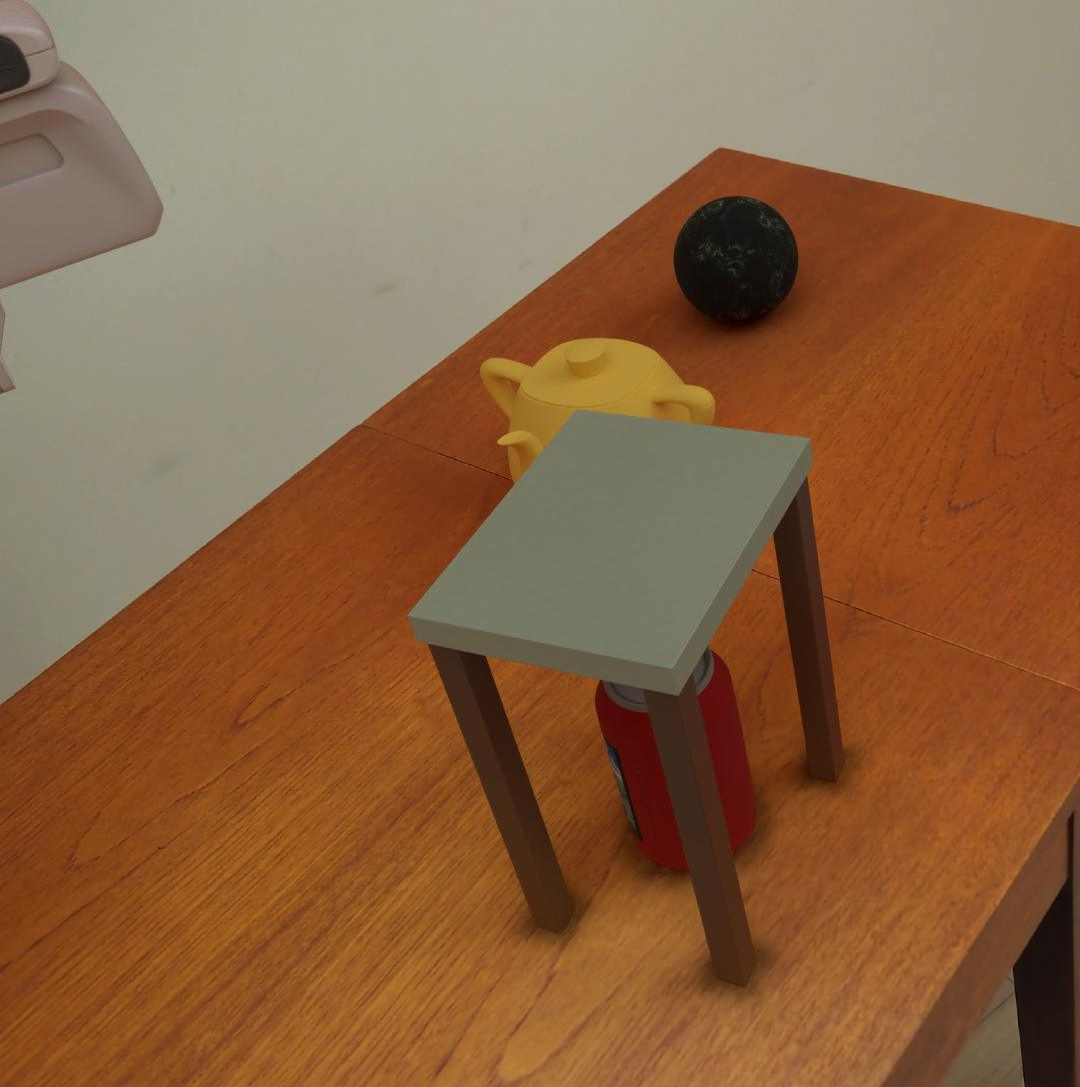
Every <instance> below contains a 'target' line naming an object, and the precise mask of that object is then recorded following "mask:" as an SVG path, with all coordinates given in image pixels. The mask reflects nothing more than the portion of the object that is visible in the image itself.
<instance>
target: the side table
mask: <svg viewBox="0 0 1080 1087" xmlns="http://www.w3.org/2000/svg"><path fill="white" fill-rule="evenodd" d="M813 466H814V459H813V449H812V442H811V438H810V437H806V436H798V435H789V434H781V433H773V432H766V431H765V432H764V431H757V430H751V429H750V430H749V429H740V428H733V427H725V426H717V425H711V426H709V425H701V424H693V423H685V422H677V421H669V420H661V419H653V418H644V417H636V416H628V415H620V414H612V413H604V412H596V411H588V410H580V409H576V410H575V412H574V413H573V414H572V415H571V416H570V418H569V419H568V420H567V421H566V422H565V424H564V425H563V426H562V427H561V429H560V430H559V431H558V432H557V433H556V435H555V436H554V437H553V438H552V440H551V441H550V442H549V443H548V444H547V446H546V447H545V448H544V449H543V450H542V452H541V453H540V454H539V455H538V457H537V458H536V459H535V460H534V461H533V463H532V464H531V465H530V466H529V468H528V469H527V470H526V471H525V472H524V474H523V475H522V476H521V477H520V479H519V480H518V481H517V482H516V483H515V485H514V484H513V486H512V487H511V488H510V490H509V491H508V492H506V494H505V495H504V496H503V498H502V499H501V500H500V501H499V503H498V504H497V505H496V506H495V508H494V509H493V510H492V511H491V513H490V514H489V515H488V516H487V517H486V518H485V520H484V521H483V522H482V524H481V525H480V526H479V527H478V528H477V530H476V531H475V532H474V533H473V534H472V536H470V538H469V539H468V541H467V542H466V543H464V545H463V546H462V548H461V549H460V550H459V551H458V553H457V554H456V555H455V556H454V557H453V559H451V561H450V562H449V564H448V565H447V566H446V567H445V568H444V569H443V571H442V572H441V573H440V575H438V577H437V578H436V580H435V581H434V582H433V583H432V584H431V585H430V587H429V588H428V590H426V592H425V593H424V594H423V595H422V597H421V598H420V599H419V600H418V601H417V603H416V604H415V605H414V606H413V608H411V610H410V611H409V612H408V614H407V619H408V622H409V624H410V626H411V629H412V631H413V634H414V637H415V640H416V642H418V643H422V644H426V645H427V646H428V649H429V651H430V654H431V657H432V659H433V662H434V664H435V667H436V670H437V672H438V675H439V677H440V680H441V683H442V685H443V688H444V690H445V693H446V695H447V698H448V700H449V703H450V706H451V708H452V711H453V714H454V717H455V719H456V721H457V725H458V727H459V729H460V732H461V734H462V737H463V740H464V743H465V745H466V748H467V750H468V752H469V755H470V759H471V760H472V763H473V765H474V768H475V771H476V774H477V776H478V779H479V781H480V785H481V786H482V789H483V791H484V795H485V797H486V800H487V802H488V805H489V807H490V810H491V813H492V815H493V818H494V821H495V823H496V826H497V828H498V831H499V833H500V835H501V838H502V841H503V844H504V846H505V849H506V852H507V855H508V856H509V859H510V862H511V864H512V868H513V869H514V870H513V871H514V872H515V875H516V877H517V880H518V882H519V886H520V888H521V890H522V893H523V895H524V898H525V900H526V903H527V906H528V909H529V912H530V914H531V917H532V919H533V922H534V924H535V926H536V927H538V928H542V929H545V930H549V931H552V932H556V933H559V934H562V933H563V931H564V929H565V928H566V926H567V924H568V922H569V920H570V918H571V917H572V915H573V913H574V912H575V906H574V903H573V901H572V900H573V899H572V898H571V894H570V892H569V889H568V886H567V883H566V880H565V877H564V875H563V872H562V869H561V866H560V863H559V860H558V858H557V856H556V851H555V849H554V846H553V843H552V841H551V837H550V835H549V833H548V832H549V831H548V829H547V827H546V824H545V821H544V817H543V815H542V812H541V810H540V807H539V804H538V801H537V798H536V795H535V793H534V790H533V786H532V784H531V781H530V778H529V774H528V772H527V769H526V766H525V763H524V761H523V757H522V755H521V752H520V749H519V747H518V743H517V740H516V737H515V735H514V732H513V729H512V726H511V724H510V721H509V719H508V715H507V712H506V709H505V706H504V703H503V701H502V698H501V695H500V693H499V690H498V686H497V683H496V681H495V678H494V675H493V672H492V669H491V667H490V664H489V660H488V658H487V657H490V658H494V659H499V660H504V661H508V662H514V663H518V664H522V665H528V666H531V667H532V666H533V667H536V668H537V667H538V668H542V669H545V670H546V669H547V670H552V671H556V672H557V671H558V672H561V673H566V674H571V675H576V676H581V677H585V678H590V679H595V680H599V681H600V680H604V681H609V682H613V683H618V684H623V685H628V686H633V687H637V688H642V689H643V693H644V697H645V701H646V705H647V709H648V713H649V716H650V720H651V724H652V728H653V732H654V736H655V740H656V744H657V748H658V752H659V755H660V759H661V763H662V767H663V771H664V775H665V779H666V783H667V787H668V791H669V795H670V798H671V802H672V806H673V810H674V814H675V818H676V822H677V826H678V830H679V834H680V837H681V841H682V845H683V849H684V853H685V857H686V861H687V865H688V869H687V870H688V873H689V877H690V880H691V884H692V888H693V891H694V895H695V899H696V903H697V908H698V911H699V915H700V919H701V923H702V926H703V930H704V935H705V939H706V944H707V947H708V951H709V955H710V957H711V963H712V966H713V970H714V974H715V978H716V979H717V980H719V981H723V982H727V983H730V984H734V985H736V986H740V987H743V988H745V987H746V985H747V983H748V981H749V979H750V976H751V974H752V972H753V970H754V967H755V966H756V964H757V957H756V953H755V950H754V944H753V940H752V936H751V931H750V926H749V922H748V918H747V913H746V907H745V904H744V899H743V895H742V890H741V885H740V881H739V876H738V873H737V868H736V864H735V859H734V853H733V854H732V849H731V845H730V840H729V836H728V831H727V826H726V822H725V817H724V813H723V808H722V804H721V799H720V795H719V790H718V786H717V781H716V777H715V772H714V768H713V763H712V759H711V754H710V750H709V745H708V741H707V736H706V732H705V727H704V722H703V718H702V713H701V709H700V704H699V700H698V695H697V691H696V686H695V682H694V677H693V673H692V672H693V670H694V668H695V667H696V665H697V663H698V661H699V660H700V658H701V656H702V655H703V653H704V651H705V649H706V648H707V646H709V644H710V643H711V641H712V640H713V637H714V635H716V632H717V631H718V629H719V627H720V626H721V624H722V622H723V621H724V619H725V617H726V615H727V614H728V612H729V610H730V608H731V606H732V605H733V603H734V602H735V600H736V598H737V596H738V595H739V593H740V591H741V589H742V587H743V586H744V584H745V583H746V581H747V579H748V578H749V576H750V574H751V572H752V570H753V569H754V567H755V566H756V564H757V562H758V560H759V558H760V557H761V555H762V553H763V552H764V550H765V548H766V546H767V545H768V543H769V541H770V540H771V538H773V545H774V550H775V556H776V557H775V558H776V563H777V570H778V576H779V583H780V589H781V596H782V602H783V609H784V616H785V621H786V628H787V634H788V635H787V636H788V641H789V648H790V653H791V660H792V666H793V672H794V679H795V686H796V693H797V698H798V705H799V711H800V717H801V726H802V731H803V738H804V745H805V750H806V751H805V752H806V756H807V763H808V769H809V776H810V777H811V778H816V779H821V780H824V781H829V782H833V783H834V782H835V783H836V782H837V781H838V779H839V776H840V775H841V772H842V770H843V768H844V764H845V762H846V761H845V754H844V746H843V738H842V730H841V723H840V716H839V709H838V708H839V707H838V700H837V692H836V684H835V676H834V669H833V662H832V654H831V647H830V646H831V645H830V639H829V631H828V623H827V614H826V609H825V600H824V593H823V585H822V577H821V569H820V563H819V554H818V548H817V538H816V533H815V524H814V523H815V522H814V516H813V509H812V501H811V494H810V485H809V478H808V474H809V473H810V471H811V470H812V468H813Z"/></svg>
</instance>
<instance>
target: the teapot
mask: <svg viewBox="0 0 1080 1087" xmlns="http://www.w3.org/2000/svg"><path fill="white" fill-rule="evenodd" d="M479 375H480V376H479V377H480V378H481V381H482V383H483V386H484V387H485V389H486V391H487V393H488V394H489V396H490V397H491V398H492V400H493V401H494V403H495V404H496V405H497V406H498V408H499V409H500V411H501V412H503V413H504V415H505V416H506V417H507V419H509V424H508V430H507V433H506V434H505V435H503V436H501V437H500V438H499V439H498V440H497V442H496V443H497V445H499V446H505V447H507V459H508V461H507V462H508V468H509V472H510V476H511V480H512V482H513V486H514V485H515V483H516V482H517V481H518V480H519V479H520V477H521V476H522V475H523V474H524V472H525V471H526V470H527V469H528V468H529V466H530V465H531V464H532V463H533V461H534V460H535V459H536V458H537V457H538V455H539V454H540V453H541V452H542V450H543V449H544V448H545V447H546V446H547V444H548V443H549V442H550V441H551V440H552V438H553V437H554V436H555V435H556V433H557V432H558V431H559V430H560V429H561V427H562V426H563V425H564V424H565V422H566V421H567V420H568V419H569V418H570V416H571V415H572V414H573V413H574V412H575V410H576V409H580V410H588V411H596V412H604V413H612V414H620V415H628V416H636V417H644V418H653V419H661V420H669V421H677V422H685V423H693V424H701V425H709V426H713V422H714V419H715V414H716V400H715V398H714V396H713V394H712V393H711V392H710V391H709V390H708V389H706V388H704V387H701V386H698V385H693V384H685V383H684V382H683V380H682V379H681V377H680V376H679V375H678V374H677V372H675V370H674V369H673V368H672V367H671V366H670V364H669V363H668V362H667V361H666V360H665V359H664V358H663V357H662V356H661V355H660V354H659V353H658V352H656V350H654V349H653V348H651V347H648V346H646V345H644V344H641V343H638V342H634V341H630V340H625V339H619V338H611V337H610V338H609V337H607V338H605V337H592V338H591V337H590V338H589V337H588V338H579V339H573V340H570V341H569V340H568V341H566V342H563V343H560V344H558V345H556V346H554V347H553V348H552V349H550V350H549V351H547V352H546V354H545V355H543V356H542V357H541V358H539V360H538V361H536V363H535V364H534V365H533V366H530V365H528V364H525V363H522V362H519V361H515V360H512V359H508V358H503V357H491V358H488V359H486V360H484V361H483V362H482V364H481V365H480V368H479ZM510 381H512V382H514V383H516V384H519V386H518V390H517V392H516V391H515V389H514V387H513V386H512V384H511V382H510Z"/></svg>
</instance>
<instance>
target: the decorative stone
mask: <svg viewBox="0 0 1080 1087" xmlns="http://www.w3.org/2000/svg"><path fill="white" fill-rule="evenodd" d="M673 249H674V250H673V256H672V258H673V259H672V261H673V270H674V274H675V278H676V281H677V284H678V287H679V289H680V291H681V292H682V294H683V296H684V297H685V299H686V300H687V301H688V302H689V303H690V304H691V305H692V307H694V308H695V309H696V310H697V311H698V312H700V313H701V314H703V315H704V316H706V317H708V318H710V319H713V320H716V321H719V322H723V323H728V324H732V325H738V324H739V325H740V324H741V325H742V324H748V323H751V322H755V321H756V320H759V319H762V318H764V317H766V316H767V315H769V314H771V313H772V312H774V310H776V309H777V308H778V307H779V306H780V305H782V303H783V302H784V301H785V300H786V299H787V297H788V296H789V294H790V292H791V291H792V289H793V286H794V284H795V281H796V279H797V275H798V269H799V249H798V245H797V241H796V237H795V235H794V232H793V230H792V228H791V227H790V225H789V223H788V221H786V219H785V218H784V217H783V216H782V215H781V213H780V212H778V211H777V210H776V209H775V208H774V207H772V206H771V205H769V204H768V203H766V202H764V201H762V200H759V199H757V198H753V197H749V196H743V195H730V196H722V197H719V198H715V199H713V200H711V201H709V202H707V203H705V204H704V205H702V206H700V207H698V209H696V210H695V211H694V212H693V213H692V214H691V215H690V216H689V217H688V218H687V220H686V221H685V223H684V224H683V226H682V228H681V229H680V231H679V233H678V235H677V237H676V240H675V244H674V248H673Z"/></svg>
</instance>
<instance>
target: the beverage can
mask: <svg viewBox="0 0 1080 1087" xmlns="http://www.w3.org/2000/svg"><path fill="white" fill-rule="evenodd" d="M692 673H693V677H694V682H695V686H696V691H697V695H698V700H699V704H700V709H701V713H702V718H703V722H704V727H705V732H706V736H707V741H708V745H709V750H710V754H711V759H712V763H713V768H714V772H715V777H716V781H717V786H718V790H719V795H720V799H721V804H722V808H723V813H724V817H725V822H726V826H727V831H728V836H729V840H730V845H731V849H732V854H733V855H734V854H735V853H736V852H737V851H738V850H739V849H741V847H742V846H744V844H745V843H746V842H747V840H748V839H749V837H750V836H751V834H752V832H753V830H754V827H755V825H756V820H757V811H758V810H757V803H756V797H755V791H754V784H753V780H752V775H751V774H752V773H751V768H750V764H749V758H748V753H747V748H746V743H745V737H744V732H743V728H742V722H741V717H740V712H739V707H738V703H737V698H736V693H735V688H734V682H733V679H732V674H731V671H730V668H729V667H728V665H727V664H726V662H725V661H724V660H723V659H722V657H721V656H720V655H718V653H716V652H715V651H714V650H713V649H711V647H710V646H709V645H708V646H707V648H706V649H705V651H704V653H703V655H702V656H701V658H700V660H699V661H698V663H697V665H696V667H695V668H694V670H693V672H692ZM594 708H595V712H596V713H595V714H596V716H597V719H598V724H599V727H600V730H601V734H602V738H603V741H604V746H605V749H606V753H607V756H608V759H609V763H610V765H611V766H610V767H611V770H612V773H613V776H614V780H615V783H616V788H617V790H618V793H619V797H620V800H621V804H622V807H623V810H624V814H625V816H626V820H627V823H628V826H629V830H630V833H631V837H632V839H633V841H634V843H635V845H636V846H637V848H638V849H639V851H640V852H641V853H642V854H643V855H644V856H645V857H647V858H648V859H649V860H651V861H652V862H654V863H656V864H658V865H661V866H663V867H667V868H671V869H675V870H676V869H677V870H689V869H688V865H687V861H686V857H685V853H684V849H683V845H682V841H681V837H680V834H679V830H678V826H677V822H676V818H675V814H674V810H673V806H672V802H671V798H670V795H669V791H668V787H667V783H666V779H665V775H664V771H663V767H662V763H661V759H660V755H659V752H658V748H657V744H656V740H655V736H654V732H653V728H652V724H651V720H650V716H649V713H648V709H647V705H646V701H645V697H644V693H643V689H642V688H637V687H633V686H628V685H623V684H618V683H613V682H609V681H604V680H599V681H598V684H597V686H596V690H595V694H594Z"/></svg>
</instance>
